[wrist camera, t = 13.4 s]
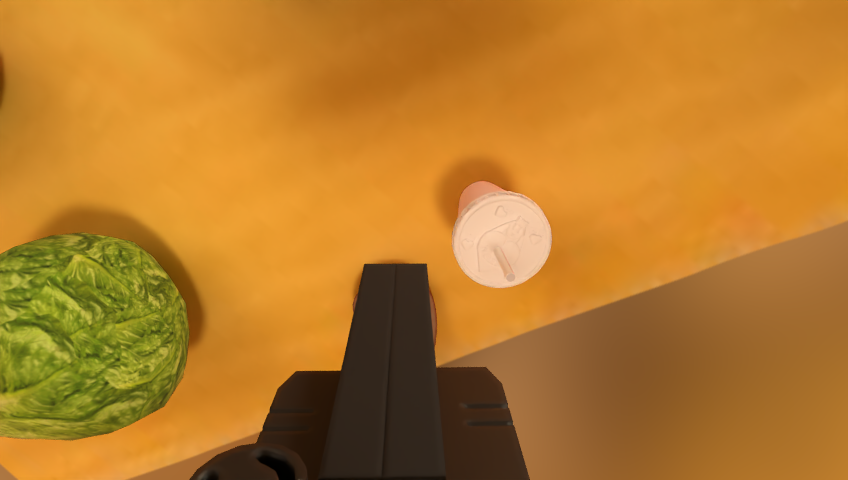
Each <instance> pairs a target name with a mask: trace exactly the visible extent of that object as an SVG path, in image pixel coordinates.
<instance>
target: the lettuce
mask: <svg viewBox="0 0 848 480" xmlns="http://www.w3.org/2000/svg"><path fill="white" fill-rule="evenodd" d="M188 342H189V325H188V317H187V310H186V303H185V301H184V299H183V298H182V296H181V294H180V293H179V291H178V289H177V288H176V286H175V285H174V283H173V281H172V280H171V278H170V277H169V275H168V274H167V273H166V272H165V270H164V269H163V268H162V267H161V266H160V264H159V263H158V262H157V261H156V260H155V258H154V257H153V256H151V255H150V254H149V253H148V252H146V251H145V250H144V249H142V248H141V247H140V246H138V245H137V244H136V243H134V242H132V241H127V240H123V239H118V238H113V237H109V236H102V235H96V234H89V233H83V232H82V233H72V234H62V235H53V236H48V237H45V238H42V239H38V240H35V241H32V242H29V243H25V244H22V245H19V246H16V247H13V248H11V249H9V250H7V251H5V252H4V253H2V254H0V436H2V437H10V438H18V439H51V440H77V439H81V438H86V437H91V436H97V435H102V434H108V433H111V432H114V431H116V430H118V429H121V428H123V427H126V426H128V425H130V424H132V423H134V422H136V421H138V420H140V419H142V418H143V417H145V416H147V415H149V414H151V413H153V412H155V411H157V410H158V409H160V408H162V407H164V406H165V404H166V403H167V401H168V400H169V398H170V397H171V395H172V394H173V392H174V391H175V389H176V387H177V386H178V384H179V383H180V381H181V380H182V378H183V375H184V370H185V366H186V360H187V351H188Z"/></svg>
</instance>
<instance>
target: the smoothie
mask: <svg viewBox="0 0 848 480" xmlns="http://www.w3.org/2000/svg"><path fill="white" fill-rule="evenodd" d="M551 243H552V234H551V228H550V225H549V222H548V220H547V218H546V216H545V215H544V213H543V211H542V209H541V208H540V207H539V206H538V205H537V204H536V203H535V202H534V201H533V200H531V199H529V198H528V197H526V196H524V195H523V194H519V193H515V192H511V191H505V190H504V189H502V188H500V187H498V186H496V185H494V184H493V183H490V182H487V181H479V182H475V183H472V184H471V185H469V186H468V187H467V188H465V190H464V191H463V192H462V194H461V196H460V200H459V211H458V218H457V220H456V222H455V225H454V229H453V232H452V247H453V251H454V255H455V258H456V259H457V262H458V264H459V266H460V267H461V269H462V270H463V272H464V273H465V274H466V275H467V276H468V277H470V278H471V279H472V280H474V281H475V282H477V283H479V284H482V285H484V286H488V287H494V288H506V287H512V286H515V285H518V284H521V283H523V282H525V281H527V280H528V279H530V278H531V277H533V276H534V275H535V274H536V273H537V272H538V271H539V270H540V269H541V268H542V266H543V265H544V263H545V262H546V260H547V258H548V255H549V253H550V249H551Z"/></svg>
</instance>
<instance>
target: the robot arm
mask: <svg viewBox="0 0 848 480" xmlns="http://www.w3.org/2000/svg"><path fill="white" fill-rule="evenodd" d="M190 480H530V479H529V475H528V472H527V468H526V465H525V462H524V458H523V455H522V451H521V448H520V444H519V441H518V438H517V434H516V431H515V427H514V426H513V421H512V417H511V414H510V410H509V408H508V403H507V400H506V396H505V393H504V390H503V386H502V383H501V382H500V381H499V380H498V379H497V378H496V377H495V376H494V375H493V374H492V373H491V372H490V371H489V370H488V369H487V368H486V367H457V368H436V361H435V350H434V339H433V328H432V317H431V306H430V295H429V284H428V273H427V264H364V268H363V273H362V277H361V282H360V286H359V291H358V296H357V300H356V305H355V310H354V314H353V319H352V323H351V328H350V333H349V337H348V342H347V346H346V351H345V356H344V360H343V365H342V369H341V371H296V372H295V373H294V374H293V375H292V376H291V377H290V378H289V379H287V380H286V381H285V382H284V383H283V384H282V385H281V386H280V387H279V388H278V390H277V392H276V395H275V397H274V400H273V402H272V405H271V407H270V413H268V415H267V417H266V420H265V422H264V425H263V430H262V432H260V435H259V437H258V440H257V442H256V443H255V444H249V445H241V446H238V447H235V448H233V449H230V450H228V451H226V452H223V453H221V454H218V455H216V456H215V457H214V458H212V459H211V460H209V461H208V462H207V463H205V464H204V465H203V466H201V467H200V468H199V469H197V471H196V472H195V473H194V474H193V476H192V477H191V478H190Z"/></svg>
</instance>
